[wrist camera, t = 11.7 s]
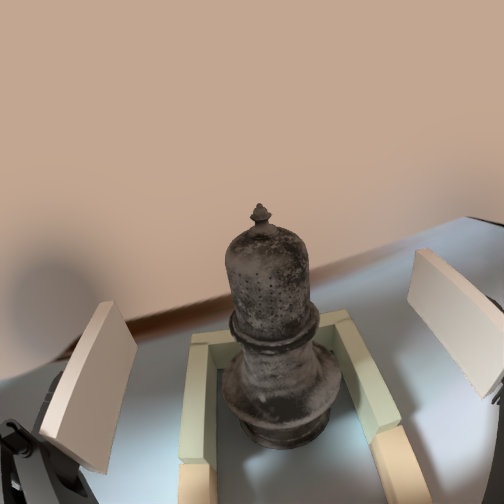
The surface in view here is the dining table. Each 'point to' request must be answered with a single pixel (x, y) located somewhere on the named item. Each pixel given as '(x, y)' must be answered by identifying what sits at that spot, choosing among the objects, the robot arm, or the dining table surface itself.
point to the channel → (385, 456)
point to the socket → (225, 347)
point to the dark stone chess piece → (276, 340)
